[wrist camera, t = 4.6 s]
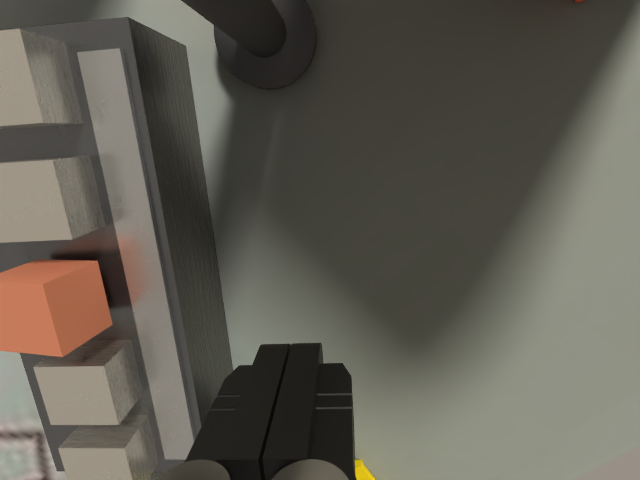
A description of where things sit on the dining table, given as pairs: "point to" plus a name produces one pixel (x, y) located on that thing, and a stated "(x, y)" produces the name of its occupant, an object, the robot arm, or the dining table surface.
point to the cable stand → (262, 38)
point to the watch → (362, 471)
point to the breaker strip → (114, 238)
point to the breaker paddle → (51, 306)
